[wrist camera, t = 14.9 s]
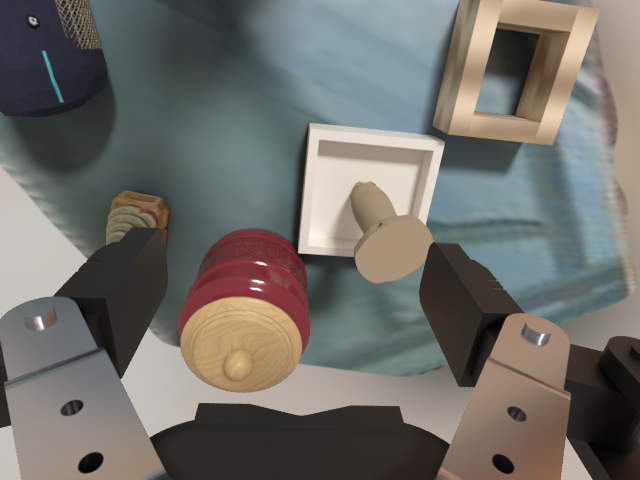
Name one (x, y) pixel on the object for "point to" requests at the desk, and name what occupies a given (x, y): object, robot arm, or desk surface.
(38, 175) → the desk surface
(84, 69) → the portable speaker
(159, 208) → the ornament
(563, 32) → the socket block
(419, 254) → the handle
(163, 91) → the desk surface
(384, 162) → the tray
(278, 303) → the canister
